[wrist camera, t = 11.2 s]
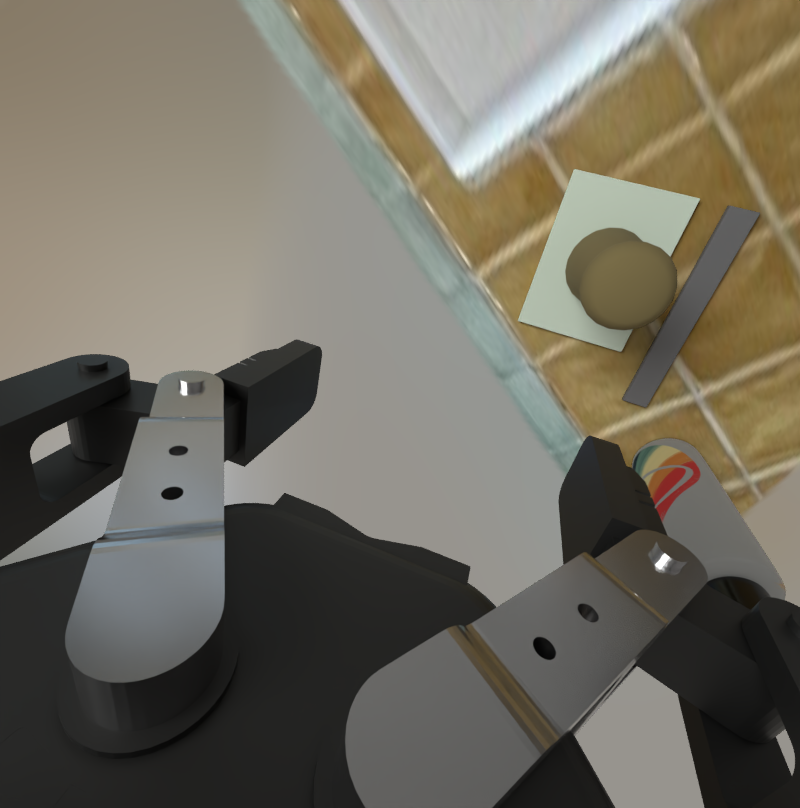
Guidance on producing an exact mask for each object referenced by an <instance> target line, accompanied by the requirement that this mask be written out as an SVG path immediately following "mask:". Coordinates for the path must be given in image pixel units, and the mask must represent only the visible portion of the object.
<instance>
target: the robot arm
mask: <svg viewBox="0 0 800 808" xmlns="http://www.w3.org/2000/svg"><path fill="white" fill-rule="evenodd" d="M321 358H322V350H321V348H320V347H318V346H316V345H312V344H309V343H306V342H303V341H300V340H294V341H292V342H291V343H288V344H286V345H284V346H283V347H281V348H279V349H273V350H267V351H262V352H259V353H257V354H255V355H253V356H251V357H249V359H248V358H247V359H245V360H243V361H241V362H240V364H239V363H237V364H235V365H233V366H231V367H229V368H227V369H225V370H223V371H221V372H219V373H216V374H214V375H213V374H210V373H206V372H202V371H179V372H174V373H171V374H168V375H166V376H164V377H162V378H161V379H160V381H159V383H158V384H155V383H148V382H142V381H136V380H130V372H129V364H128V363H127V362H126V361H125V360H123V359H121V358H118V357H115V356H110V355H101V354H99V355H98V354H90V355H81V356H75V357H71V358H67V359H64V360H61V361H58V362H56V363H53V364H50V365H47V366H44V367H41V368H38V369H35V370H32V371H29V372H26V373H23V374H20V375H17V376H14V377H11V378H9V379H6V380H3V381H0V560H2V559H3V558H4V557H6V556H7V555H9V554H10V553H12V552H13V551H15V550H16V549H17V548H19V547H20V546H22V545H23V544H25V543H26V542H28V541H29V540H30V539H32V538H33V537H34V536H36V535H38V534H39V533H40V532H42V531H43V530H45V529H46V528H48V527H49V526H51V525H52V524H53V523H55V522H56V521H58V520H59V519H61V518H62V517H64V516H65V515H67V514H68V513H69V512H71V511H72V510H74V509H75V508H77V507H78V506H80V505H81V504H82V503H84V502H85V501H86V500H88V499H90V498H91V497H92V496H94V495H95V494H97V493H98V492H100V491H101V490H103V489H104V488H105V487H107V486H108V485H110V484H111V483H113V482H114V481H116V480H117V479H118V478H120V477H121V476H122V478H121V481H120V485H119V488H118V491H117V495H116V498H115V501H114V504H113V508H112V511H111V515H110V518H109V521H108V524H107V528H106V531H105V533H104V535H103V536H102V537H101V538H98V539H97V540H96V541H92V542H89V543H85V544H82V545H78V546H74V547H71V548H67V549H64V550H60V551H56V552H52V553H49V554H45V555H41V556H38V557H34V558H30V559H27V560H23V561H20V562H16V563H13V564H9V565H5V566H1V567H0V808H615V806H614V805H613V803H612V801H611V799H610V798H609V796H608V794H607V793H606V791H605V789H604V787H603V785H602V784H601V782H600V780H599V778H598V777H597V775H596V773H595V771H594V770H593V768H592V766H591V764H590V762H589V761H588V759H587V757H586V755H585V754H584V752H583V750H582V749H581V747H580V745H579V743H578V741H577V740H576V738H575V735H576V734H577V733H578V732H579V731H580V730H581V728H582V727H583V726H584V725H585V724H586V722H587V721H588V720H589V719H590V718H591V717H592V716H593V715H594V714H595V712H596V711H597V710H598V709H599V708H600V707H601V706H602V705H603V704H604V702H605V701H606V700H607V699H608V698H609V697H610V696H611V695H612V694H613V693H614V691H615V690H616V689H617V688H618V687H619V686H620V685H621V684H622V682H623V681H624V680H625V679H626V678H627V677H628V676H629V675H630V674H631V673H632V672H633V670H634V669H635V668H636V667H637V666H638V667H640V668H641V669H642V670H644V671H645V672H647V673H648V674H650V675H651V676H653V677H654V678H656V679H657V680H658V681H660V682H661V683H663V684H664V685H666V686H667V687H668V688H670V689H672V690H673V691H674V692H676V693H677V694H678V698H679V702H680V707H681V711H682V715H683V719H684V723H685V728H686V732H687V736H688V740H689V744H690V748H691V753H692V756H693V761H694V765H695V770H696V774H697V778H698V781H699V786H700V790H701V795H702V798H703V803H704V807H705V808H800V607H798V606H796V605H794V604H792V603H790V602H787V601H785V600H782V599H778V598H774V597H765V598H763V599H761V600H760V601H759V602H758V603H757V604H756V605H755V606H754V607H753V608H752V609H751V610H750V609H748V608H746V607H745V606H743V605H741V604H739V603H738V602H736V601H734V600H732V599H730V598H729V597H727V596H725V595H723V594H722V593H720V592H718V591H716V590H715V589H713V588H711V587H710V586H708V585H707V584H706V583H707V581H708V575H707V572H706V569H705V567H704V566H703V564H702V563H701V562H700V560H699V559H698V558H697V557H696V556H695V555H694V554H693V553H692V552H691V551H690V550H688V549H687V548H686V547H685V546H683V545H682V544H680V543H679V542H677V541H676V540H674V539H672V538H670V537H668V535H667V533H666V530H665V528H664V526H663V523H662V521H661V518H660V516H659V513H658V511H657V509H656V508H655V504H654V501H653V499H652V497H650V496H651V494H650V491H649V489H648V487H647V484H646V482H645V481H644V480H643V479H642V478H641V477H640V475H639V474H638V473H637V472H636V471H635V470H634V469H633V468H630V467H627V466H626V464H625V461H624V459H623V456H622V453H621V450H620V447H619V445H617V444H614V443H611V442H608V441H605V440H602V439H599V438H596V437H593V436H588V437H587V438H586V439H585V441H584V442H583V444H582V446H581V448H580V450H579V452H578V454H577V456H576V458H575V460H574V462H573V464H572V466H571V468H570V470H569V472H568V473H567V475H566V477H565V479H564V482H563V484H562V487H561V490H560V495H559V512H560V525H561V537H562V550H563V564H564V565H563V566H561V567H559V568H558V569H556V570H555V571H553V572H552V573H550V574H548V575H547V576H545V577H544V578H542V579H541V580H539V581H538V582H536V583H534V584H533V585H531V586H530V587H528V588H526V589H525V590H524V591H522V592H520V593H519V594H517V595H515V596H514V597H512V598H511V599H509V600H508V601H506V602H505V603H503V604H501V605H500V606H498V607H496V606H495V605H494V604H493V603H492V602H491V601H490V600H489V599H488V598H487V597H486V596H484V595H483V594H482V593H481V592H480V591H478V590H477V589H476V588H475V587H473V586H472V585H470V584H469V583H467V582H468V577H469V571H470V566H468V565H465V564H462V563H460V562H458V561H455V560H452V559H450V558H447V557H445V556H443V555H440V554H437V553H435V552H432V551H430V550H427V549H424V548H422V547H417V546H412V545H406V544H401V543H396V542H390V541H385V540H379V539H374V538H371V537H368V536H366V535H364V534H363V533H361V532H360V531H358V530H357V529H355V528H354V527H352V526H351V525H349V524H348V523H346V522H345V521H343V520H342V519H340V518H339V517H337V516H336V515H334V514H333V513H331V512H330V511H328V510H326V509H324V508H321V507H319V506H316V505H314V504H311V503H309V502H306V501H303V500H301V499H299V498H296V497H294V496H291V495H289V494H286V493H284V494H283V495H282V496H281V498H280V499H279V500H278V501H277V502H276V503H275V504H274V505H270V504H259V503H242V504H233V505H226V506H224V462H225V461H226V460H229V461H231V462H234V463H236V464H239V465H241V466H244V467H245V466H246V465H247V464H248V463H249V462H251V461H252V460H253V459H254V458H255V457H256V456H257V455H258V454H260V453H261V452H262V451H263V450H264V449H266V448H267V447H268V446H269V445H270V444H271V443H273V442H274V441H275V440H276V439H277V438H278V437H280V436H281V435H282V434H283V433H284V432H285V431H286V430H288V429H289V428H290V427H291V426H292V425H294V424H295V423H296V422H297V421H298V420H299V419H300V418H302V417H303V416H304V415H305V414H306V413H307V412H308V411H309V410H310V409H311V407H312V406H313V404H314V401H315V398H316V394H317V388H318V380H319V373H320V365H321ZM65 422H67V425H68V431H69V436H70V441H71V444H69V445H67V446H65V447H63V448H62V449H60V450H58V451H56V452H54V453H52V454H50V455H49V456H47V457H45V458H43V459H41V460H39V461H37V462H36V463H34V464H32V462H31V458H30V449H31V446H32V444H33V443H34V441H35V440H36V439H37V438H38V437H39V436H40V435H41V434H43V433H44V432H46V431H48V430H50V429H52V428H54V427H57V426H59V425H61V424H63V423H65ZM784 729H786V731H787V733H788V735H789V738H790V740H791V743H792V745H793V749H794V753H795V769H794V773H793V775H792V776H791V773H790V771H789V768H788V766H787V763H786V761H785V758H784V756H783V754H782V751H781V749H780V746H779V744H778V742H777V739H776V736H777V735H778V734H780V733H781V732H782V731H783V730H784Z"/></svg>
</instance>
